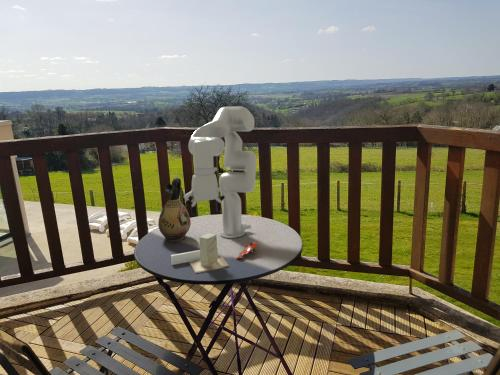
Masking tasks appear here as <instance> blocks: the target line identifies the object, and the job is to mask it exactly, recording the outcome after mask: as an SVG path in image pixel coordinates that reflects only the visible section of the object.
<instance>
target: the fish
mask: <svg viewBox="0 0 500 375" xmlns="http://www.w3.org/2000/svg"><path fill="white" fill-rule="evenodd" d="M258 245H259V242H258V241H253V242H248V243H246V244H245V245H244V246H243V248H244V250H242V251H241V252H239V255H237V256H236V257H235V258H236V259H241V258H242V257H243V256H244V255H246V254H247V255H248V254H249V253H251V251H253V252H252V253H255V251H256V248H257V247H258Z"/></svg>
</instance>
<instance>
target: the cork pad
mask: <svg viewBox="0 0 500 375" xmlns="http://www.w3.org/2000/svg"><path fill="white" fill-rule="evenodd" d="M217 258H218V262H216V263H214V264H213V265H211V266H209V267H208V266H204V265H201V260H196V261H191V262H188V263H189V265H190V267H191V269H192V270H193V272H194V273H195V274H199V273H200V274H201V273H205V272H210V271H215V270H219V269H224V268H229V267H230V264H228V262H227V261H226V260H225V259H224V257H223V256H222V255H218V256H217Z"/></svg>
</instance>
